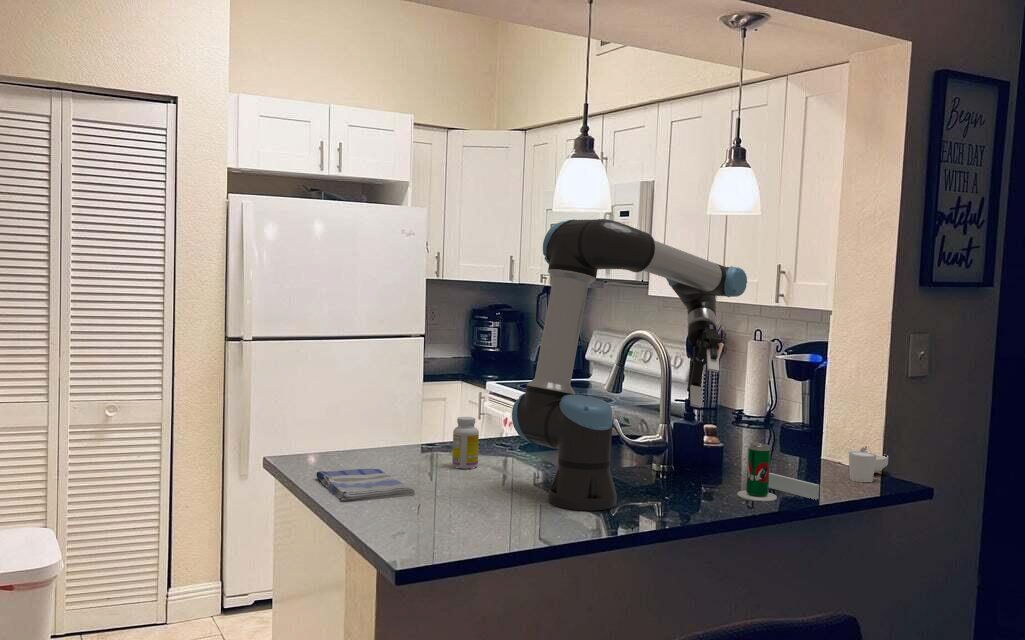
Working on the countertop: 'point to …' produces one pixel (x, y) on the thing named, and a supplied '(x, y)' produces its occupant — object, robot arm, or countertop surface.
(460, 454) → the supplement bottle
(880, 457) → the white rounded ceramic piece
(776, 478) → the acrylic fence
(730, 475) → the countertop surface
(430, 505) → the countertop surface
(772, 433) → the countertop surface
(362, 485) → the dish towel
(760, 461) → the soda can
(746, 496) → the disc
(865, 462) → the white cup
